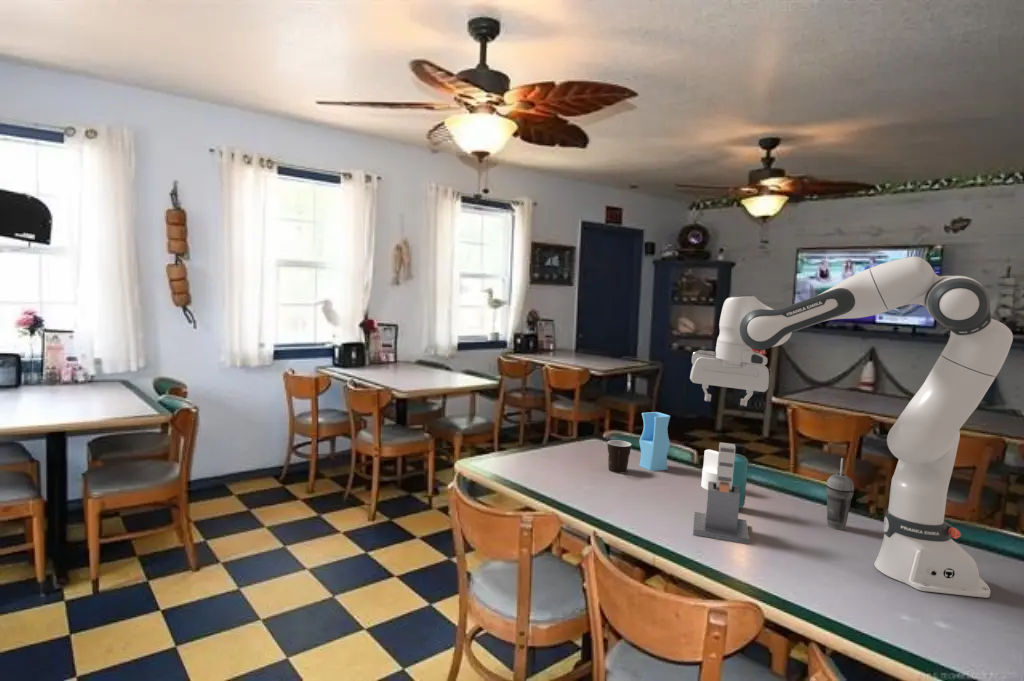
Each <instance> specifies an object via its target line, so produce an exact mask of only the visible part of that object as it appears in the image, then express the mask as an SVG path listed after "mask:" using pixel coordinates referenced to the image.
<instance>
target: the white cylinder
mask: <svg viewBox="0 0 1024 681" xmlns="http://www.w3.org/2000/svg"><path fill="white" fill-rule="evenodd" d="M703 453H704V455H703V466H702V471H701V482H700V487H702V489H704V490H706V491H708V481H710V482H716V479H717V467H718V455H719V451H717V450H713V449H710V448H709V449H705V450H704V452H703Z"/></svg>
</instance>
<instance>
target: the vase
mask: <svg viewBox="0 0 1024 681" xmlns="http://www.w3.org/2000/svg"><path fill="white" fill-rule="evenodd" d="M641 416H642V420H643V428H642V429H643V430H642V433H641V435H640V438H639V441H638V443H639V447H640V448H639V449H640V462H639V465H638V466H639V467H641V468H643V469H645V470H648V471H651V472H659V471H665V470H668V469H669V468H668V461H667V460H668V459H667V458H668V453H669V449H670V446H671V442H670V439H669V433H668V431H669V430H668V426H669V422H670V419H671V415H669V414H666V413H662V412H658V411H651V412H642V413H641Z"/></svg>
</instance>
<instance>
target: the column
mask: <svg viewBox="0 0 1024 681" xmlns="http://www.w3.org/2000/svg"><path fill="white" fill-rule="evenodd" d="M735 444H736V443H729V442H727V443H726V442H719V445H718V452H719V455H718V467H717V479H716V489H717V490H719V487H720V483H721V484H728V485H729V491H730V492H732V482H733V471H734V459H735V454H736V452H735V448H736V447H735Z"/></svg>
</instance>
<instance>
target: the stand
mask: <svg viewBox="0 0 1024 681" xmlns="http://www.w3.org/2000/svg"><path fill="white" fill-rule="evenodd" d="M739 500H740V492H739V486H738V485H732V492H730V491H729V485H728V484H721V483H720V487H719V490H717V489H716V482H710V481H708V490H707V496H706V508H705V513H704V512H699V511H698V512H697V511H694V516H693V518H694V520H693V531H692V533H693V534H692V535H693V536H699V537H703V538H710V539H716V540H722V541H726V542H727V541H728V542H733V543H738V544H746V545H749V544H750V535H749V530H748V525H747V523H748V522H747V519H741V518H739V508H740V507H739Z"/></svg>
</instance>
